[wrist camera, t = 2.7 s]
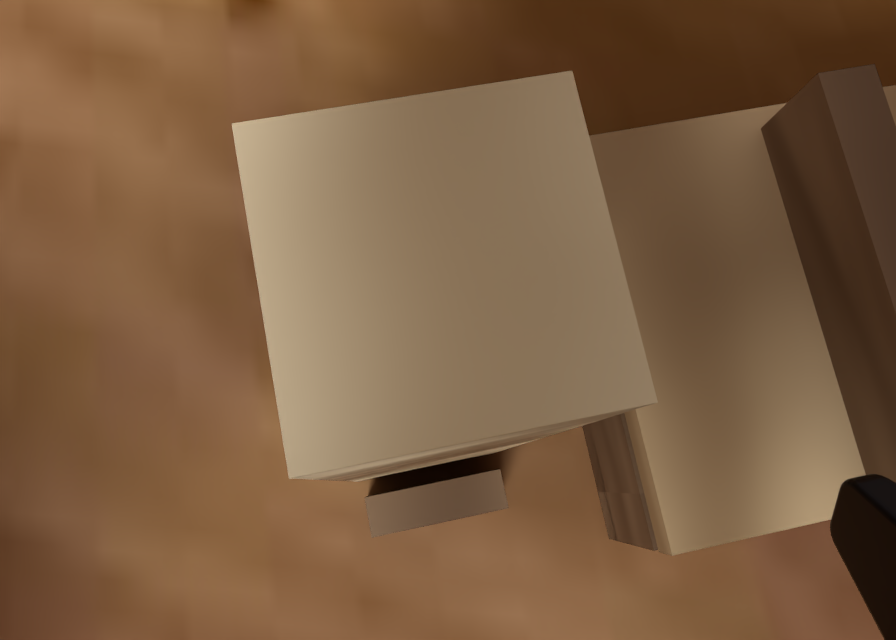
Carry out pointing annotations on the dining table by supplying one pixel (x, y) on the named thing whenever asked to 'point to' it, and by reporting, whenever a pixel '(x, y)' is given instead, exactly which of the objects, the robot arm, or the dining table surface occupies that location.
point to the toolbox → (488, 494)
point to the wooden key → (437, 277)
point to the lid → (761, 305)
